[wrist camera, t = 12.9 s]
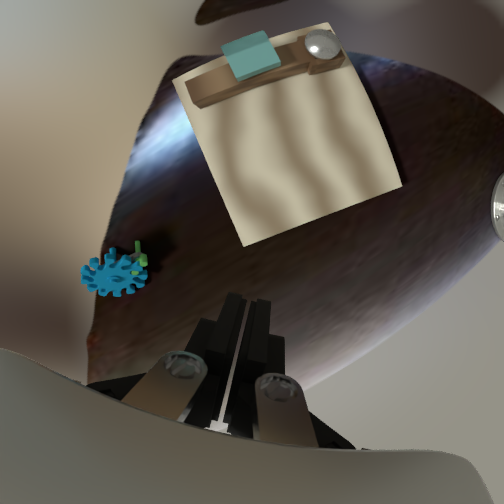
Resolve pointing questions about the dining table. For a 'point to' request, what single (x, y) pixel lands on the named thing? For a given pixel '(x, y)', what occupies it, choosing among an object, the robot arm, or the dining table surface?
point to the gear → (116, 272)
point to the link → (226, 85)
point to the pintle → (322, 44)
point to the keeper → (251, 55)
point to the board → (292, 146)
